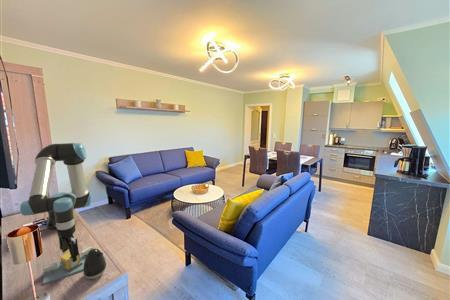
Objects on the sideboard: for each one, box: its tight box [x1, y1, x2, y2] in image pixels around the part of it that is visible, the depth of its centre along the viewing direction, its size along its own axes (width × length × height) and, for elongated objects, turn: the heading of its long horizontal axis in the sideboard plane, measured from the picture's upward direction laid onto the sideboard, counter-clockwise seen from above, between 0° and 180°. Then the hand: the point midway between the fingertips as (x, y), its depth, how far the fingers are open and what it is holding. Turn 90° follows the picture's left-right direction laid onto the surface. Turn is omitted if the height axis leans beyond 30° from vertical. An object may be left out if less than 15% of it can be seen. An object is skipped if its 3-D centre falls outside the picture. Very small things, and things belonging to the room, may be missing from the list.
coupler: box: [59, 251, 81, 270], centre depth 107 cm, size 6×8×6 cm
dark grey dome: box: [82, 248, 107, 280], centre depth 102 cm, size 10×10×15 cm
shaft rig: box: [42, 246, 94, 286], centre depth 107 cm, size 13×22×5 cm, turn 126°
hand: (71, 263), depth 107 cm, fingers closed on coupler, 6 cm apart
